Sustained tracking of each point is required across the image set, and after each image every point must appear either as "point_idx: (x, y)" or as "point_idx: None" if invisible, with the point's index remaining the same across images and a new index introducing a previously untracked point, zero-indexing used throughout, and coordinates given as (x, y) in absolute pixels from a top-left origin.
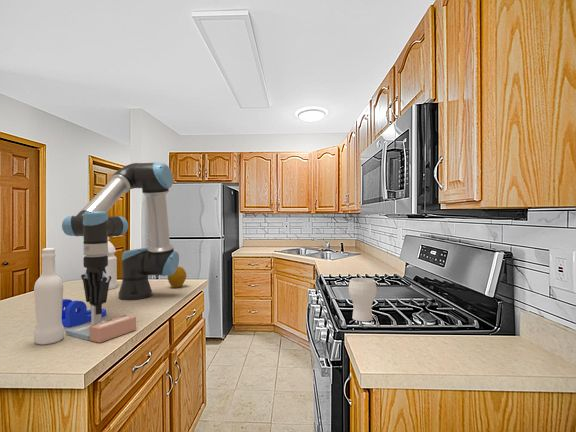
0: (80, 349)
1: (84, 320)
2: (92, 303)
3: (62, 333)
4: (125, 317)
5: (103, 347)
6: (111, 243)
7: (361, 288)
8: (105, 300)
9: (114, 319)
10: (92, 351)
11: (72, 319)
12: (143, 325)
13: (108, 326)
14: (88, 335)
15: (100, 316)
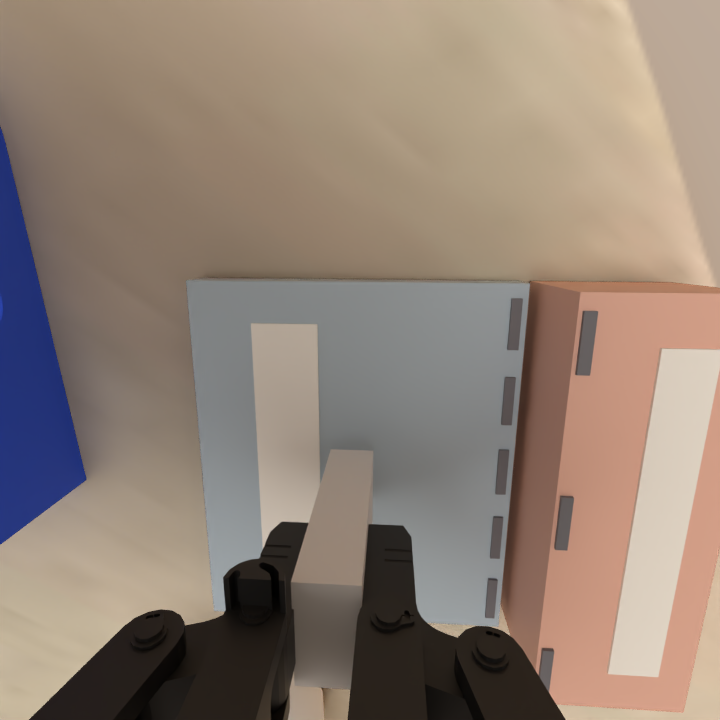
0: (581, 708)
1: (35, 353)
2: (288, 688)
3: (307, 699)
4: (667, 378)
5: (704, 640)
6: None
7: None
8: (535, 694)
9: (586, 473)
10: (688, 704)
11: (31, 487)
12: (631, 132)
13: (697, 629)
14: (485, 619)
15: (370, 490)
